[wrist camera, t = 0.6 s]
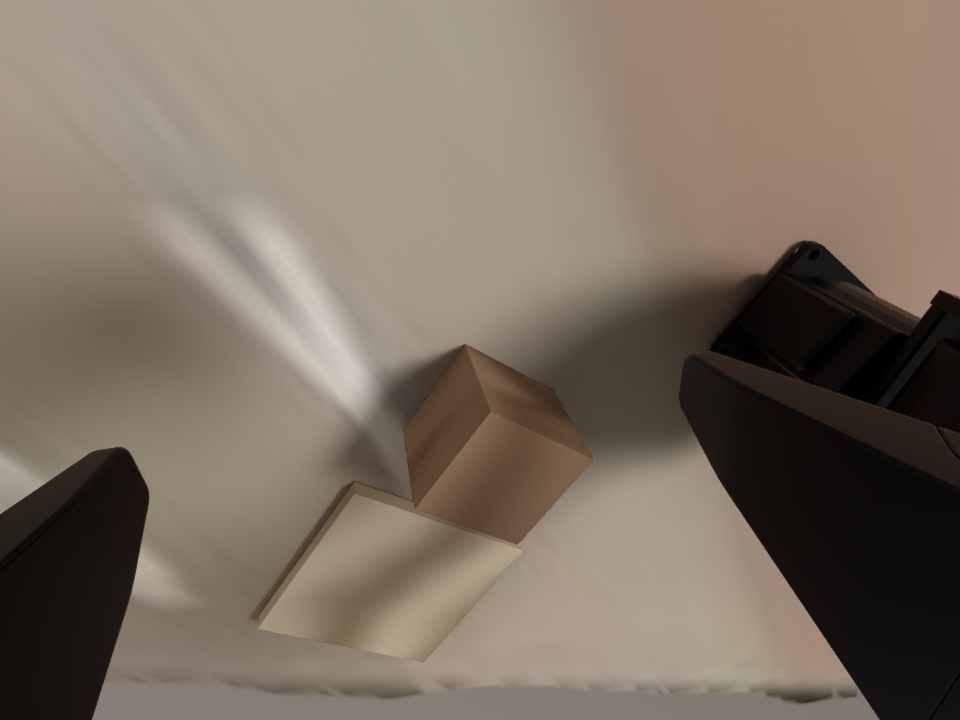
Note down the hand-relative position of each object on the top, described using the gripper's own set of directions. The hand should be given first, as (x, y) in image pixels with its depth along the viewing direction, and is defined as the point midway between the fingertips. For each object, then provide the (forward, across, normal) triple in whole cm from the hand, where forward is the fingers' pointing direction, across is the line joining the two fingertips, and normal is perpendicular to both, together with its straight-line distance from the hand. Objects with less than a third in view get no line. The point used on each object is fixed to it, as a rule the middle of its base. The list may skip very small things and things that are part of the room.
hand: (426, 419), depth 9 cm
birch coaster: (+13, +3, +19) cm, 23 cm away
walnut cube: (+13, -3, +10) cm, 16 cm away
